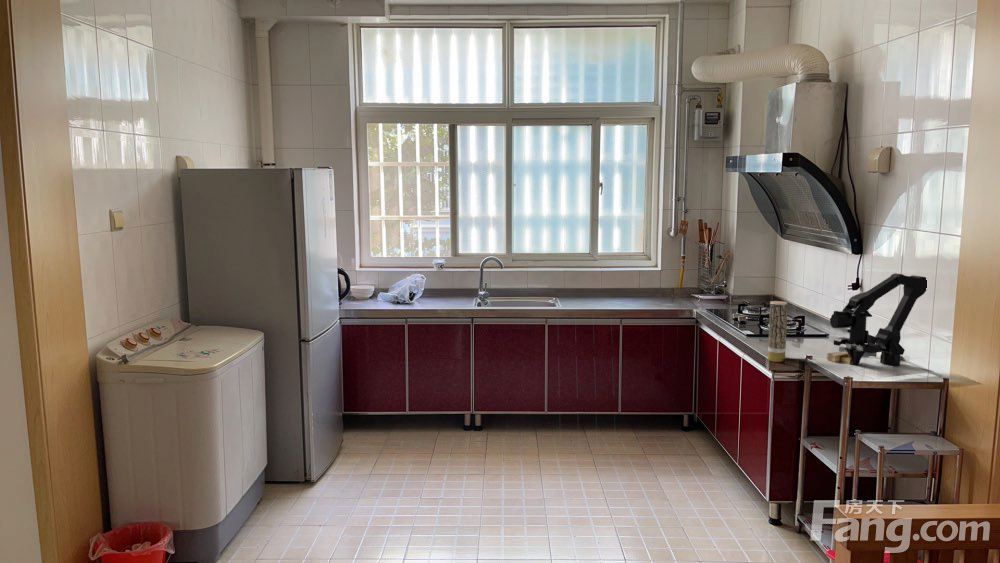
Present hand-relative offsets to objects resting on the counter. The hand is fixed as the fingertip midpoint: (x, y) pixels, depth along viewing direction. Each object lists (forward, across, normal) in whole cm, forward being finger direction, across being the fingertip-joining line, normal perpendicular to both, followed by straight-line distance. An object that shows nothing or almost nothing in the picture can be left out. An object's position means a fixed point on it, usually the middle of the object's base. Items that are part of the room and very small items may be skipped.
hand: (855, 366), depth 279 cm
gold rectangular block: (-1, +8, 0) cm, 8 cm away
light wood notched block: (+1, +8, 0) cm, 8 cm away
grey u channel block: (+1, +17, -19) cm, 26 cm away
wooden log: (+1, +23, +20) cm, 30 cm away
